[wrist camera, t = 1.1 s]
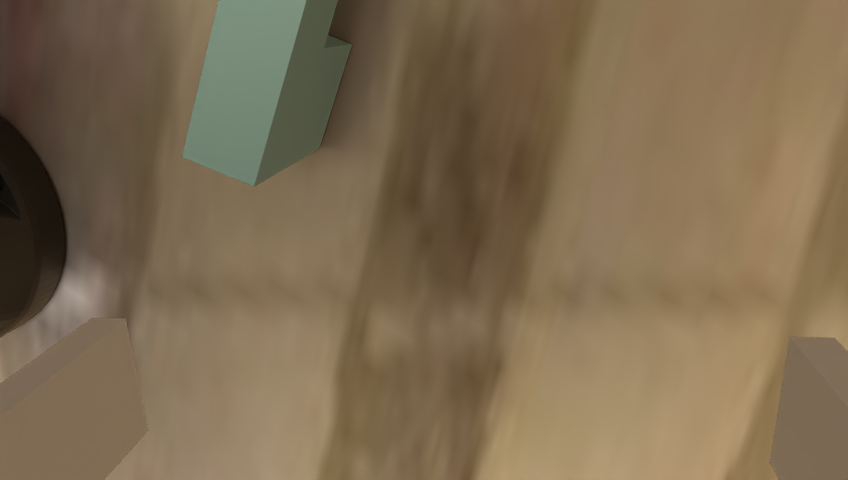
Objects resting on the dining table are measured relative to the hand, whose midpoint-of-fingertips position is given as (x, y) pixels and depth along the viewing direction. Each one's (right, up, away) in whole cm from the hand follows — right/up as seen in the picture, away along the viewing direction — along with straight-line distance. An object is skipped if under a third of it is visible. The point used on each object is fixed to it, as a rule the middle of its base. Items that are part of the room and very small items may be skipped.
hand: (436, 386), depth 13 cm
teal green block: (-4, +14, +17) cm, 22 cm away
